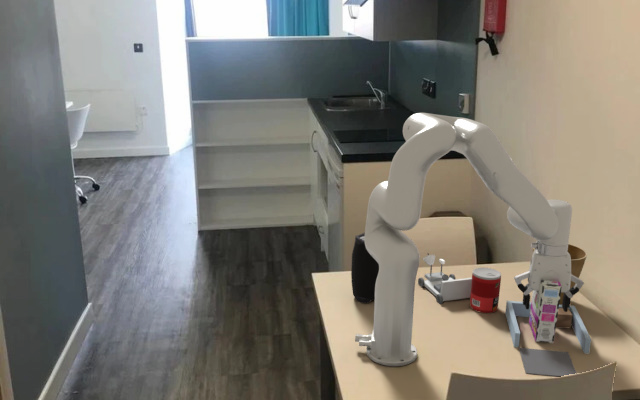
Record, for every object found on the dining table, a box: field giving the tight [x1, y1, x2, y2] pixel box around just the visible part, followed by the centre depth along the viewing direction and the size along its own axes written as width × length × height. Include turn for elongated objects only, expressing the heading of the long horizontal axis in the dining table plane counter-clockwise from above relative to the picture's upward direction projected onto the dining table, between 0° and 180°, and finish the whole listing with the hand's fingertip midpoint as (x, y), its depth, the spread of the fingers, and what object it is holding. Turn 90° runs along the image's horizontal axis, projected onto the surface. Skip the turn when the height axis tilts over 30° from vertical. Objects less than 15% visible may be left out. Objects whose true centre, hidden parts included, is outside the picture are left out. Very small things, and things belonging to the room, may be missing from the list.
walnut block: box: [556, 308, 572, 329], centre depth 179 cm, size 4×4×4 cm
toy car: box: [417, 253, 472, 305], centre depth 199 cm, size 18×10×12 cm
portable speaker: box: [350, 231, 379, 304], centre depth 191 cm, size 9×9×20 cm
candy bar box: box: [528, 280, 562, 344], centre depth 172 cm, size 11×5×16 cm, turn 172°
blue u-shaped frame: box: [505, 300, 592, 354], centre depth 174 cm, size 18×19×4 cm
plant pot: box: [532, 243, 588, 305], centre depth 192 cm, size 15×15×16 cm
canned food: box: [469, 267, 502, 314], centre depth 187 cm, size 8×8×11 cm
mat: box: [518, 347, 577, 377], centre depth 160 cm, size 12×12×1 cm
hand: (545, 308), depth 172 cm, fingers open, 9 cm apart
